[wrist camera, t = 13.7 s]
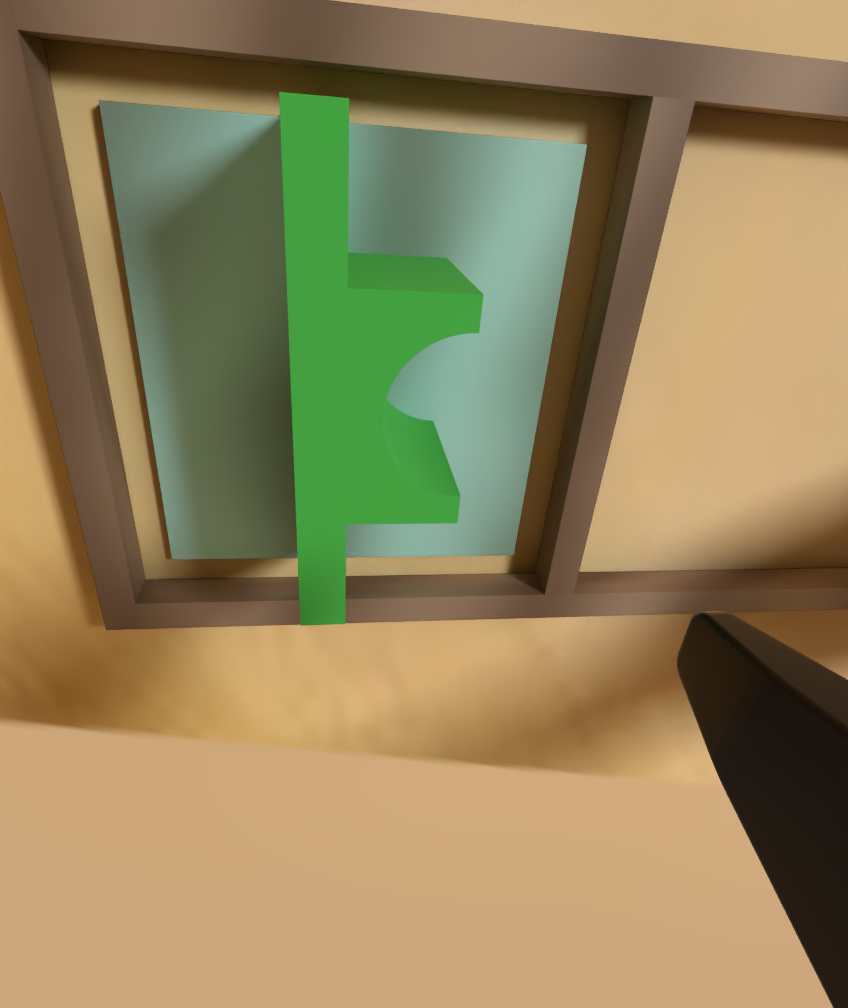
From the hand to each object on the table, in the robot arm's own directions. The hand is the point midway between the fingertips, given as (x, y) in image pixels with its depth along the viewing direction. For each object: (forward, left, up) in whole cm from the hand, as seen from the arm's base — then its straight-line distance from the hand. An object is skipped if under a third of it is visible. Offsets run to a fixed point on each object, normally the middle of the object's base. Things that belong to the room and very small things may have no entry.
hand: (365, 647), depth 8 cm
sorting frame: (-7, 0, -11) cm, 13 cm away
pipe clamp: (-1, 0, -11) cm, 11 cm away
